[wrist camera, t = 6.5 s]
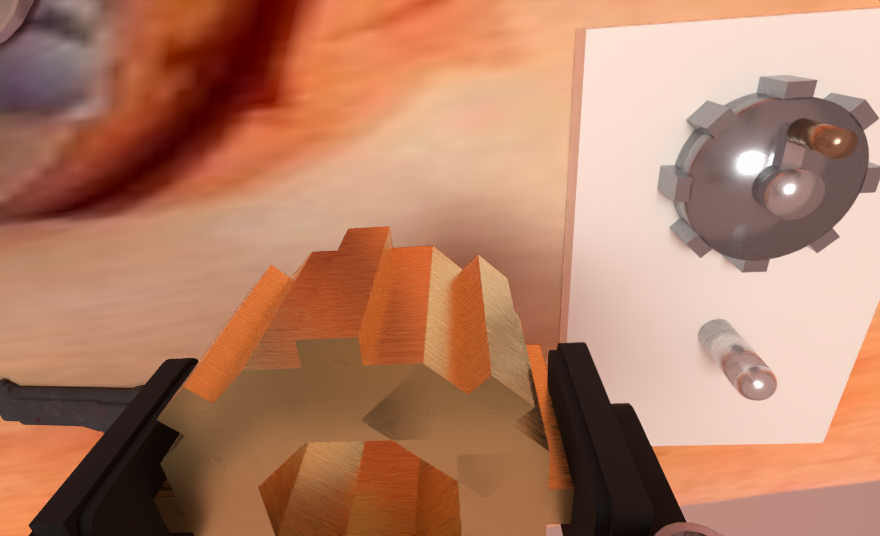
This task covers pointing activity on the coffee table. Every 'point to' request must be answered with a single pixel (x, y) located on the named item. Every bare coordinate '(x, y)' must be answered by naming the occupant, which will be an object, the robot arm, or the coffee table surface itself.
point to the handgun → (64, 405)
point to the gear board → (713, 276)
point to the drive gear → (770, 172)
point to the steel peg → (737, 360)
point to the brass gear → (368, 406)
